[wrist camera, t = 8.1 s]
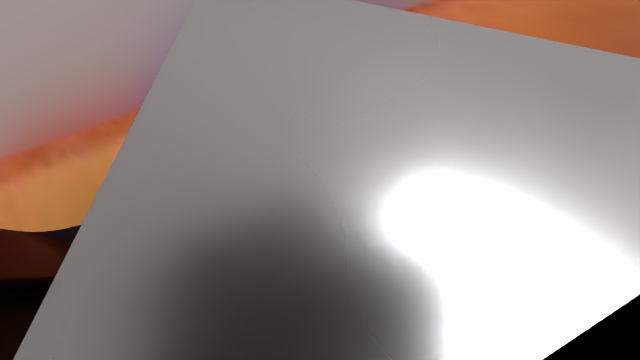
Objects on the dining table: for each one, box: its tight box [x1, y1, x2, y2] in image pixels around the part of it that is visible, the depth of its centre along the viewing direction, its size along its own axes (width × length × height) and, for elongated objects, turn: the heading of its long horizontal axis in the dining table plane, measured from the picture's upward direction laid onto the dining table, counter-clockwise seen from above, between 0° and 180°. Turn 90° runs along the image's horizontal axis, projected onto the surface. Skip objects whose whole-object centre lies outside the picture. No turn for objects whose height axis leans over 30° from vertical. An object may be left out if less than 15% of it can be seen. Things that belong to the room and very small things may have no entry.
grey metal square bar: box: [13, 0, 640, 360], centre depth 9 cm, size 4×4×13 cm
